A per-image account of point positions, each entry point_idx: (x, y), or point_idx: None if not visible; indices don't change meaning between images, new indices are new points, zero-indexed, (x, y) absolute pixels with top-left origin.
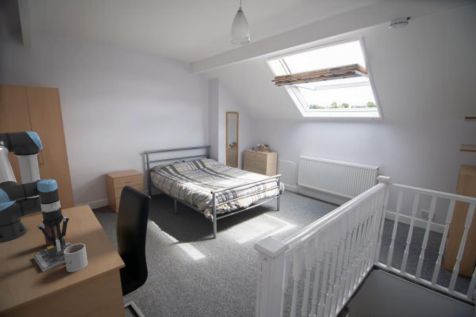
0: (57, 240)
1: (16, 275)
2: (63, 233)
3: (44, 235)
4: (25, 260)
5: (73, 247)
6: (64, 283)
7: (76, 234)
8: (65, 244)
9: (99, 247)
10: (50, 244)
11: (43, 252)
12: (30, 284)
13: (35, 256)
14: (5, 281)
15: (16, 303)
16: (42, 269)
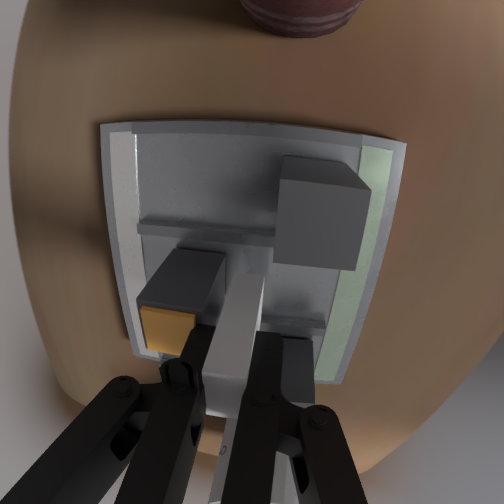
0: (223, 414)
1: (47, 258)
2: (298, 477)
3: (62, 451)
4: (76, 112)
5: (274, 489)
6: (199, 446)
7: (491, 28)
8: (359, 164)
9: (434, 372)
10: (260, 22)
11: (165, 138)
12: (103, 372)
13: (109, 157)
14: (23, 266)
15: (84, 404)
16: (135, 354)
